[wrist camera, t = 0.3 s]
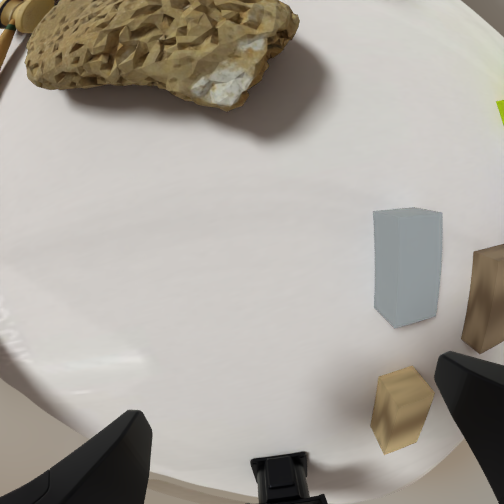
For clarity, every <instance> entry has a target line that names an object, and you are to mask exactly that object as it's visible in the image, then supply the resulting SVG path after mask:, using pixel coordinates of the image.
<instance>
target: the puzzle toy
mask: <svg viewBox="0 0 504 504" xmlns="http://www.w3.org/2000/svg"><path fill="white" fill-rule="evenodd" d="M496 103H497V106H498V109H499V112H500V115H501V118H502V121H503V125H504V100H501V101H496Z"/></svg>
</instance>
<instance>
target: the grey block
mask: <svg viewBox="0 0 504 504" xmlns="http://www.w3.org/2000/svg"><path fill="white" fill-rule="evenodd" d="M373 220H374V243H375V295H374V308H375V309H376V310H377V311H378V312H379V313H380V314H381V315H382V316H383V317H384V318H385V319H386V320H387V321H388V322H389V323H390V324H391V325H392V326H393V327H394V328H398V327H401V326H405V325H409V324H412V323H415V322H419V321H422V320H425V319H429V318H432V317H435V316H436V311H437V304H438V296H439V286H440V275H441V261H442V213H441V212H436V211H431V210H426V209H420V208H415V207H413V208H402V209H392V210H382V211H373Z"/></svg>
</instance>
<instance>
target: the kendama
mask: <svg viewBox="0 0 504 504" xmlns="http://www.w3.org/2000/svg"><path fill="white" fill-rule="evenodd" d="M53 7H54V0H3V1H2V2H1V3H0V28H1V29H5V30H4V31H3V33H2V34H1V36H0V70H1V66H2V64H3V62H4V59H5V57H6V54H7V52H8V49H9V47H10V44H11V41H12V39H13V36H14V34H15V31H16V29H17V30H18V31H19V32H21V33H33V31H34V29H35V27H36V26H37V25H38V24H39V23H40V21H41V20H42V19H43V18H44V16H45V15H46V14H47V13H48V12H49V11H50V10H51V9H52V8H53Z"/></svg>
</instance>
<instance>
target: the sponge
mask: <svg viewBox="0 0 504 504" xmlns="http://www.w3.org/2000/svg"><path fill="white" fill-rule="evenodd" d="M299 22H300V20H299V17H298V15H296V14H294V13H293V11H292V10H291V8H290V7H289V6H288V5H286V4H284V3H282V2H281V1H279V0H60V1H59V2H58V4H57V5H56V6H54V7H53V8H52V9H51V10H50V11H49V12H48V13H47V14H46V15H45V16H44V18H43V19H42V20H41V21H40V23H39V24H38V25H37V26H36V27H35V29H34V31H33V33H32V35H31V37H30V39H29V41H28V43H27V47H26V48H27V49H28V52H27V56H26V60H25V64H26V68H27V77H28V79H29V80H30V81H31V82H32V83H33V84H35V85H36V86H37V87H41V88H45V89H48V90H55V89H59V90H65V89H74V88H85V89H86V88H92V87H97V86H103V85H107V84H112V85H115V86H127V85H132V84H135V85H148V86H151V87H152V85H154V86H158V88H160V89H166V90H168V91H169V92H170V93H171V94H172V95H175V96H177V97H179V98H181V99H183V100H185V101H194V103H195V104H197V105H201V106H208V107H216V108H219V109H221V110H224V111H226V112H228V111H230V110H232V109H234V108H237V107H240V106H243V104H244V103H245V101H246V100H247V98H248V97H249V93H248V92H247V90H248V89H250V88H251V87H252V86H253V85H256V84H257V83H258V82H260V81H261V80H262V77H263V74H264V72H265V70H266V69H267V68H268V67H269V65H268V62H267V60H268V59H269V58H274V57H275V56H276V55H278V54H279V53H281V52H282V51H283V50H284V47H285V46H286V44H287V43H288V41H289V40H292V38H293V37H294V35H295V33H296V31H297V29H298V26H299Z"/></svg>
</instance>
